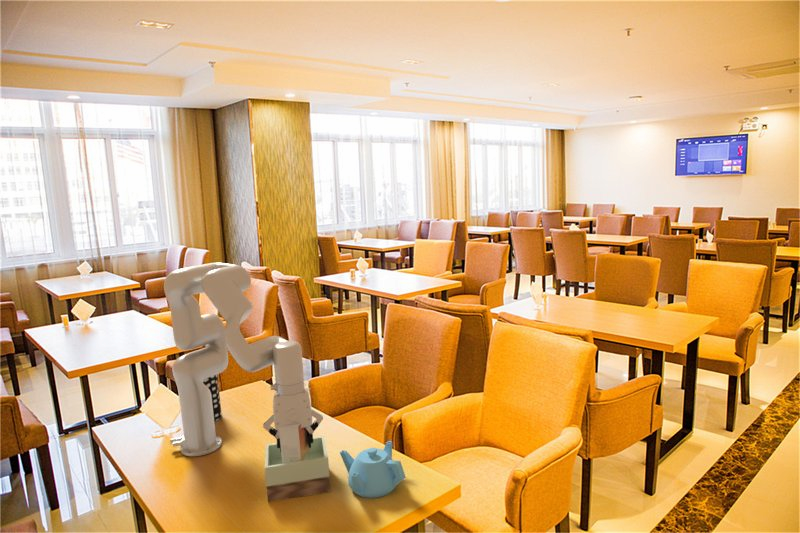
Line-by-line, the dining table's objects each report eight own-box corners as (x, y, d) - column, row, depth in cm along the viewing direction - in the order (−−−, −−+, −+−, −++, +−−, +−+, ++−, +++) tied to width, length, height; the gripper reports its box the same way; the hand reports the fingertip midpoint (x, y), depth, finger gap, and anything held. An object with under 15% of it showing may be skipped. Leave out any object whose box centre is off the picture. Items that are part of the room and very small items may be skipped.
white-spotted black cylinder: (207, 425, 189) (201, 371, 186) (192, 420, 193) (186, 367, 190) (226, 416, 196) (221, 363, 193) (211, 411, 200) (205, 360, 197)
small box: (301, 463, 144) (298, 427, 142) (281, 463, 145) (278, 426, 143) (310, 449, 152) (307, 414, 150) (291, 448, 153) (288, 413, 151)
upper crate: (266, 486, 141) (264, 467, 140) (267, 461, 154) (265, 444, 153) (329, 476, 145) (328, 458, 144) (325, 452, 157) (324, 435, 156)
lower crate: (268, 502, 142) (266, 486, 141) (268, 476, 154) (267, 461, 154) (330, 491, 145) (329, 476, 145) (326, 466, 158) (325, 452, 157)
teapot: (351, 507, 138) (348, 469, 136) (341, 477, 152) (338, 442, 150) (408, 495, 142) (406, 458, 140) (392, 467, 156) (391, 432, 154)
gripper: (256, 396, 140) (263, 459, 143) (323, 387, 143) (328, 449, 146) (257, 385, 147) (263, 446, 150) (321, 377, 151) (326, 436, 154)
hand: (295, 447), depth 148 cm, fingers closed on small box, 7 cm apart
